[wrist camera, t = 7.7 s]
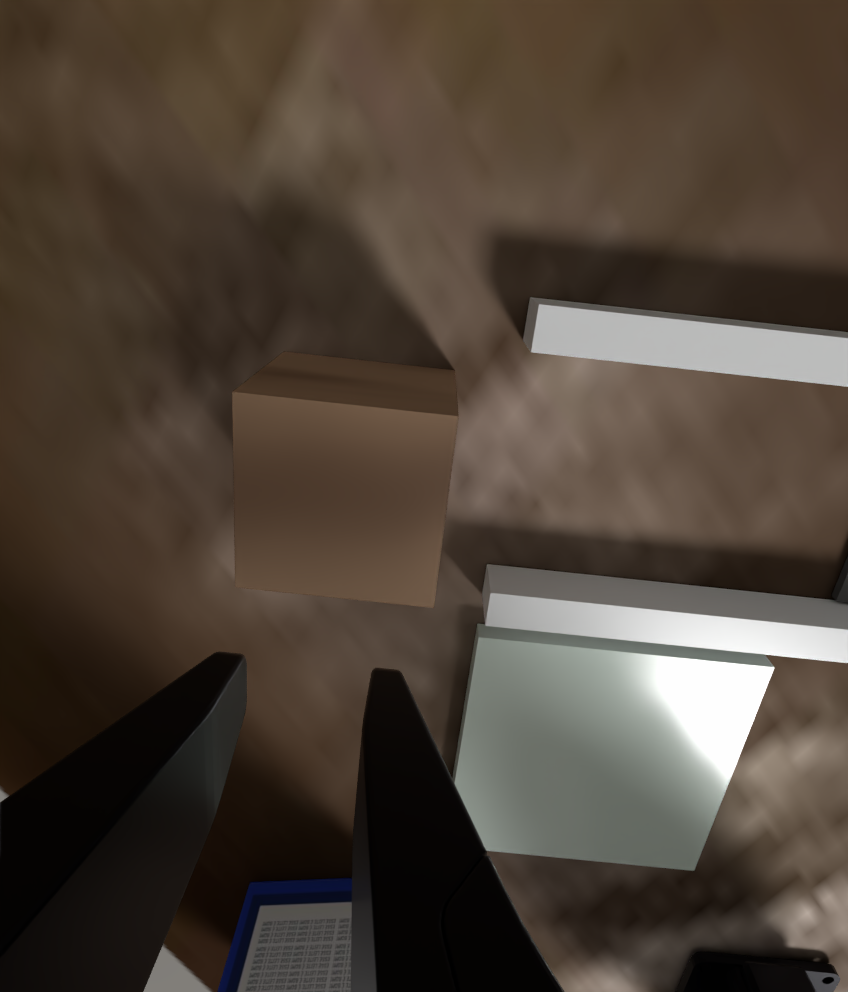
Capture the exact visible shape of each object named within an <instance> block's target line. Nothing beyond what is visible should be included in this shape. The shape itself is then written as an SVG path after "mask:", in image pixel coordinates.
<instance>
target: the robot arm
mask: <svg viewBox="0 0 848 992" xmlns="http://www.w3.org/2000/svg"><path fill="white" fill-rule="evenodd" d="M246 703H247V663H246V658H245V656H244V655H243V654H239V653H229V652H216V653H214V654H212V655H211V656H209V657H208V658H206V659H205V660H203V661H202V662H200V663H199V664H198V665H196V666H195V667H193V668H192V669H190V670H189V671H188V672H186V673H185V674H183V675H182V676H180V677H179V678H178V679H176V680H175V681H173V682H172V683H170V684H169V685H168V686H166V687H165V688H163V689H162V690H160V691H159V692H158V693H156V694H155V695H153V696H152V697H150V698H149V699H148V700H146V701H145V702H143V703H142V704H140V705H139V706H138V707H136V708H135V709H133V710H132V711H130V712H129V713H128V714H126V715H125V716H123V717H122V718H120V719H119V720H118V721H116V722H115V723H113V724H112V725H110V726H109V727H107V728H106V729H105V730H103V731H102V732H100V733H99V734H97V735H96V736H95V737H93V738H92V739H90V740H89V741H87V742H86V743H85V744H83V745H82V746H80V747H79V748H77V749H76V750H75V751H73V752H72V753H70V754H69V755H67V756H66V757H65V758H63V759H62V760H60V761H59V762H57V763H56V764H55V765H53V766H52V767H50V768H49V769H47V770H46V771H45V772H43V773H42V774H40V775H39V776H37V777H36V778H35V779H33V780H32V781H30V782H29V783H27V784H26V785H25V786H23V787H22V788H20V789H19V790H17V791H16V792H14V793H13V794H12V795H10V796H9V797H7V798H6V799H4V800H3V801H2V802H0V992H143V991H144V988H145V986H146V984H147V981H148V979H149V977H150V974H151V971H152V969H153V967H154V964H155V962H156V960H157V957H158V955H159V952H160V950H161V948H162V945H163V943H164V940H165V938H166V935H167V933H168V931H169V928H170V926H171V923H172V921H173V918H174V916H175V914H176V911H177V909H178V906H179V904H180V902H181V899H182V897H183V894H184V892H185V889H186V887H187V885H188V882H189V880H190V877H191V875H192V873H193V870H194V868H195V865H196V863H197V860H198V858H199V856H200V853H201V851H202V848H203V846H204V843H205V841H206V839H207V836H208V834H209V831H210V828H211V826H212V823H213V821H214V818H215V815H216V812H217V808H218V805H219V802H220V799H221V795H222V792H223V788H224V785H225V781H226V778H227V774H228V771H229V767H230V764H231V760H232V757H233V754H234V750H235V747H236V743H237V740H238V736H239V733H240V729H241V726H242V722H243V719H244V715H245V710H246ZM839 981H840V978H839V975H838V974H837V972H836V970H835V968H834V966H832V965H831V964H826V963H815V962H805V961H795V960H784V959H774V958H763V957H753V956H742V955H732V954H721V953H711V952H698V953H695V954H694V955H692V956H691V958H690V960H689V962H688V965H687V967H686V969H685V972H684V974H683V976H682V979H681V981H680V983H679V986H678V988H677V991H676V992H833V991H834V990H835V988H836V986H837V985H838V983H839ZM351 992H564V990H563V989H562V987H561V986H560V984H559V982H558V981H557V979H556V978H555V976H554V974H553V973H552V971H551V970H550V968H549V966H548V965H547V963H546V961H545V960H544V958H543V956H542V954H541V953H540V951H539V949H538V948H537V946H536V944H535V943H534V941H533V939H532V938H531V936H530V934H529V933H528V931H527V929H526V928H525V926H524V924H523V922H522V920H521V918H520V917H519V915H518V913H517V911H516V909H515V907H514V905H513V903H512V901H511V899H510V897H509V895H508V893H507V891H506V889H505V888H504V886H503V884H502V882H501V879H500V877H499V875H498V873H497V871H496V869H495V867H494V865H493V863H492V861H491V858H490V857H489V856H487V851H486V849H485V846H484V844H483V842H482V840H481V838H480V836H479V834H478V832H477V830H476V828H475V826H474V823H473V821H472V819H471V817H470V815H469V813H468V811H467V809H466V807H465V805H464V802H463V800H462V798H461V796H460V794H459V792H458V790H457V788H456V786H455V784H454V781H453V779H452V777H451V775H450V773H449V771H448V769H447V767H446V765H445V763H444V760H443V758H442V756H441V754H440V752H439V750H438V748H437V746H436V744H435V742H434V739H433V737H432V735H431V733H430V731H429V729H428V727H427V725H426V723H425V721H424V718H423V716H422V714H421V712H420V710H419V708H418V706H417V704H416V702H415V700H414V697H413V695H412V693H411V691H410V689H409V687H408V685H407V683H406V681H405V679H404V676H403V675H402V673H401V672H400V671H399V670H394V669H384V668H375V669H373V670H372V673H371V678H370V683H369V689H368V695H367V701H366V706H365V712H364V718H363V726H362V737H361V748H360V759H359V771H358V782H357V793H356V805H355V816H354V827H353V848H352V923H351Z"/></svg>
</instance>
